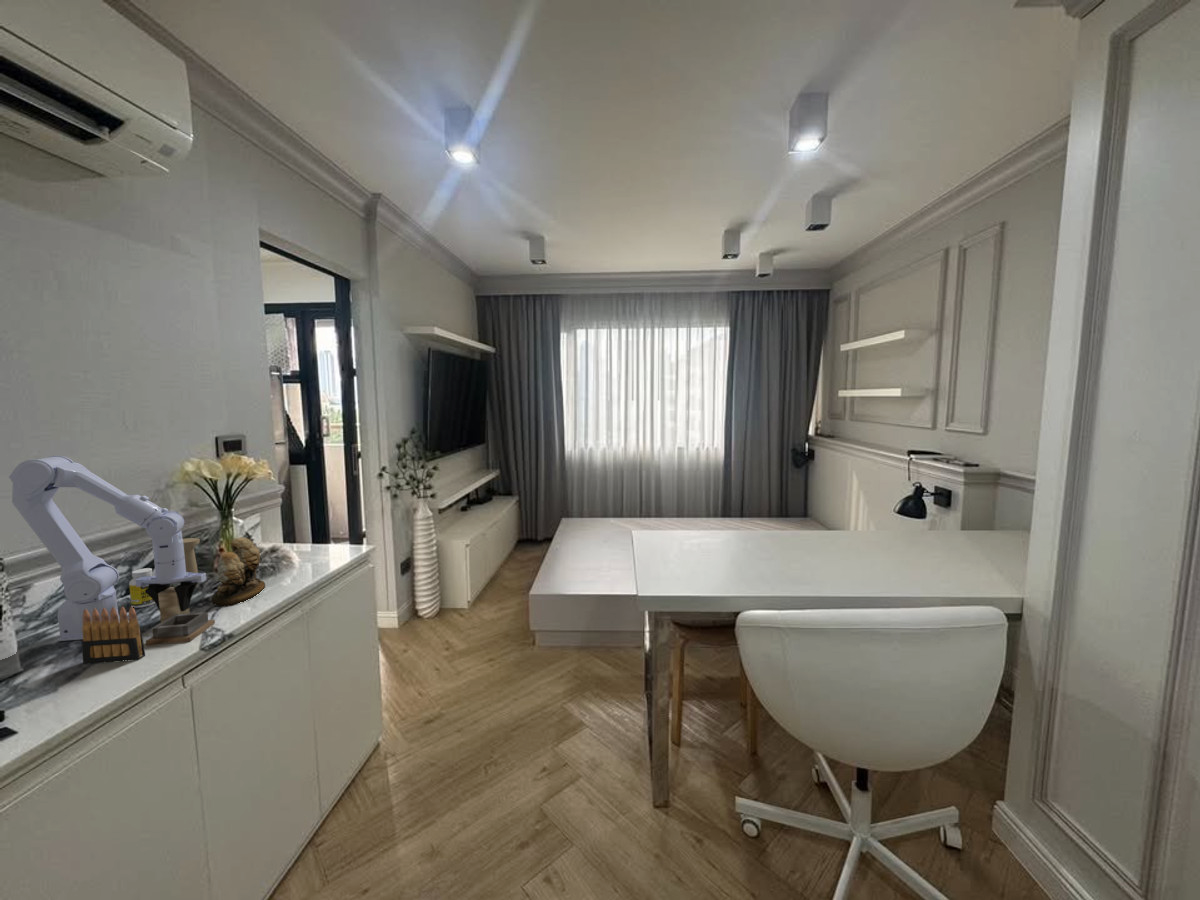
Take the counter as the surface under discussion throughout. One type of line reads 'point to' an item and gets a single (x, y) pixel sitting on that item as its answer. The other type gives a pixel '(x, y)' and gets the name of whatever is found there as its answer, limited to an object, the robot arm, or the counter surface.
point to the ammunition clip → (111, 637)
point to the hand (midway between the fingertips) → (175, 610)
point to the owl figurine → (238, 574)
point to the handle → (190, 554)
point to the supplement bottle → (140, 589)
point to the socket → (180, 628)
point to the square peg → (169, 604)
